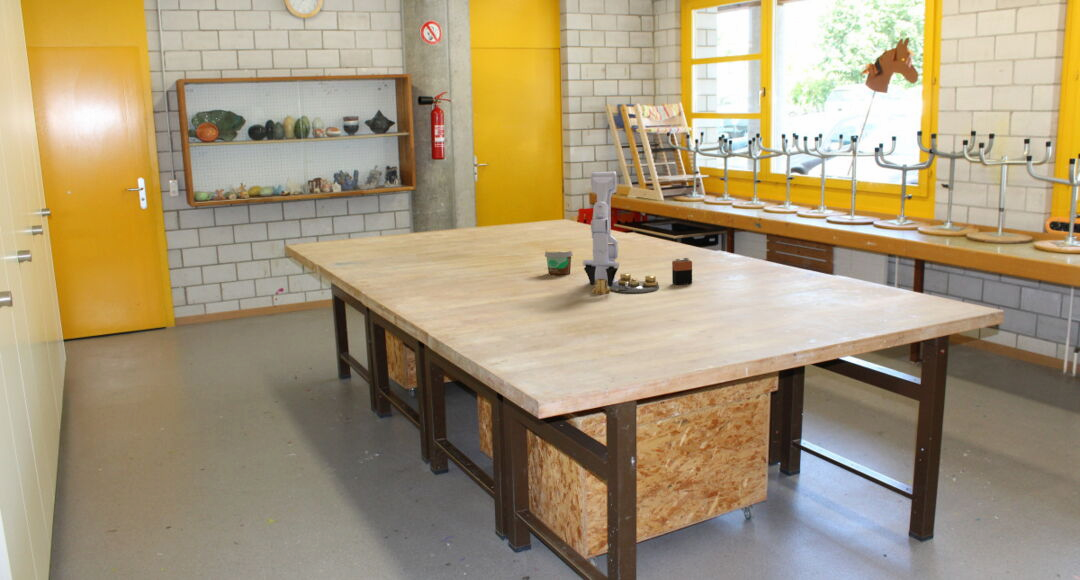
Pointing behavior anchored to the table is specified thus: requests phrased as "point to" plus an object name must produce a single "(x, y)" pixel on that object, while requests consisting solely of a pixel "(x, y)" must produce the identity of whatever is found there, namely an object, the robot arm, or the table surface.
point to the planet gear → (601, 286)
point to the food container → (559, 262)
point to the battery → (682, 271)
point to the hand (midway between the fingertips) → (601, 285)
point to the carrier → (635, 285)
